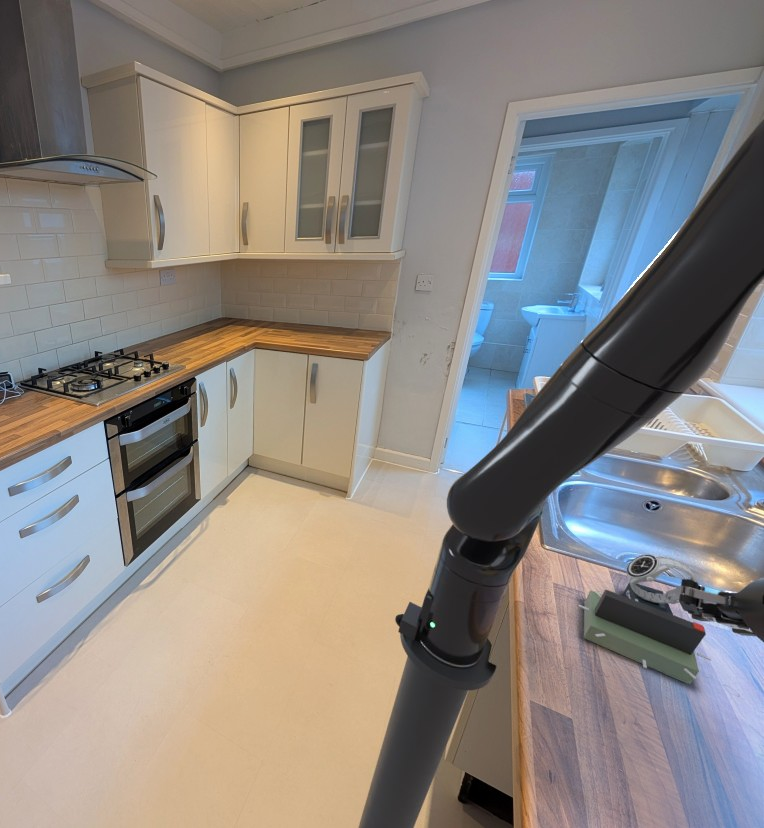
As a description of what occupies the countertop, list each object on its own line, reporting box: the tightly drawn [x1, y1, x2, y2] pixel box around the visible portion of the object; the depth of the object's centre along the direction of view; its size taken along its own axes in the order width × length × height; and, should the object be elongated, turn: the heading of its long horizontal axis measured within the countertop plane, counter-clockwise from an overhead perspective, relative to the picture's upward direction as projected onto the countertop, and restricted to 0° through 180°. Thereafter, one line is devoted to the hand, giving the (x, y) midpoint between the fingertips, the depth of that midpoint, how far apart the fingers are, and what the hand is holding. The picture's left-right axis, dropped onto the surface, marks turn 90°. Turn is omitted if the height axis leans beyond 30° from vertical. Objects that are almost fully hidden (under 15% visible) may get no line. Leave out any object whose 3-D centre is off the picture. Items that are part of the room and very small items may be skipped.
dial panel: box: [577, 589, 712, 685], centre depth 66 cm, size 15×15×3 cm
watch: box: [622, 554, 699, 615], centre depth 71 cm, size 6×8×11 cm
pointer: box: [595, 589, 707, 655], centre depth 65 cm, size 11×2×5 cm, turn 51°
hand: (716, 617), depth 51 cm, fingers open, 3 cm apart
